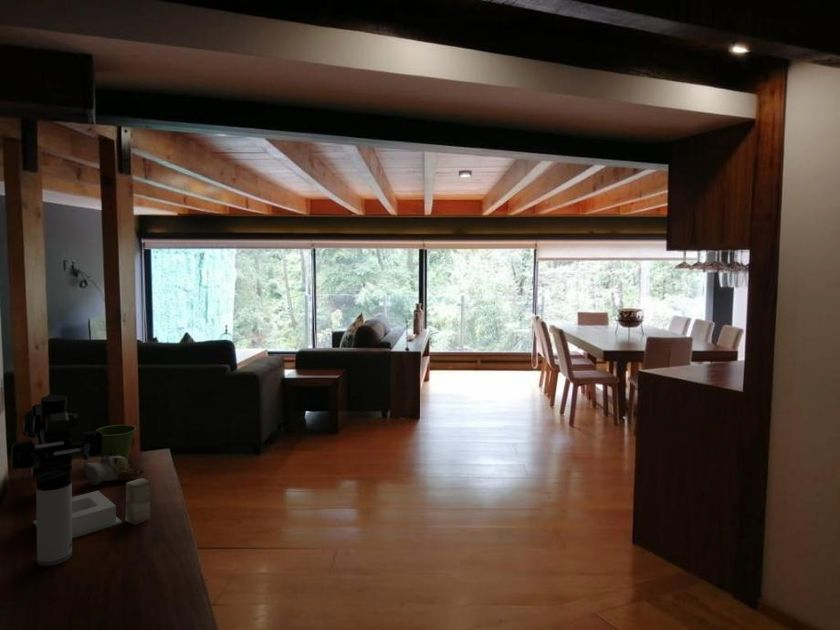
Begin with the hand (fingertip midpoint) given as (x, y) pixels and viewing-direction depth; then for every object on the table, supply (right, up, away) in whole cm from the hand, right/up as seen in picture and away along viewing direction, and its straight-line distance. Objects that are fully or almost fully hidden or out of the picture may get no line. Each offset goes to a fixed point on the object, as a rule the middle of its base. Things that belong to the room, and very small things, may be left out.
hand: (63, 461), depth 124 cm
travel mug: (+6, -18, -12) cm, 23 cm away
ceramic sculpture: (-7, -15, +31) cm, 35 cm away
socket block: (+1, -17, +4) cm, 17 cm away
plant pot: (-14, -14, +45) cm, 49 cm away
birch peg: (+14, -17, +7) cm, 23 cm away
